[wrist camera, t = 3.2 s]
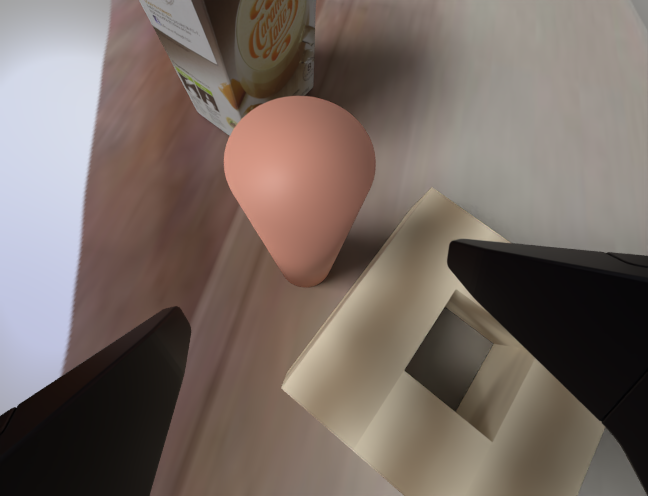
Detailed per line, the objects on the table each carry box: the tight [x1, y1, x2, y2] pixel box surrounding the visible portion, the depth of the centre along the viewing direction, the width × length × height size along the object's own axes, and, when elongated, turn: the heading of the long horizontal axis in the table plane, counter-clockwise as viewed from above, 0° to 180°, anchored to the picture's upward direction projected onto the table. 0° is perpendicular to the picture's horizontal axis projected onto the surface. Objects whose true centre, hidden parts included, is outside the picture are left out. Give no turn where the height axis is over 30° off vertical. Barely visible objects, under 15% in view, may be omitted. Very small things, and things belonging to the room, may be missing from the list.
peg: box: [224, 96, 376, 287], centre depth 14 cm, size 4×4×14 cm
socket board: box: [281, 187, 605, 496], centre depth 17 cm, size 16×16×4 cm
